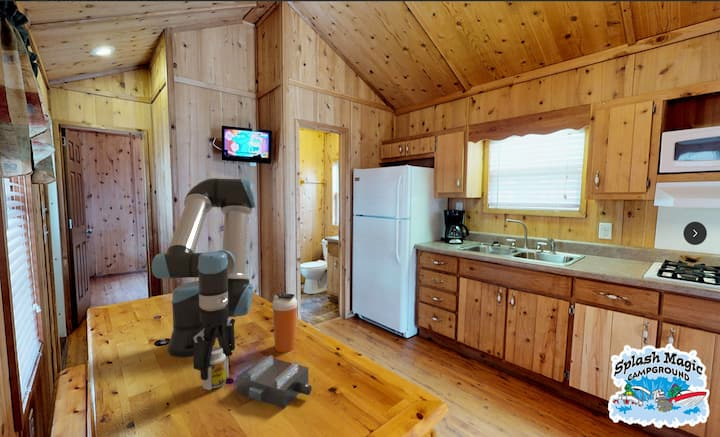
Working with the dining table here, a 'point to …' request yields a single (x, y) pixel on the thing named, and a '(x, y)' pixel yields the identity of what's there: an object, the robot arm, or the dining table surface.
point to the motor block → (274, 381)
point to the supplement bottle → (218, 367)
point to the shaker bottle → (284, 321)
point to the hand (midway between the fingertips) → (216, 381)
